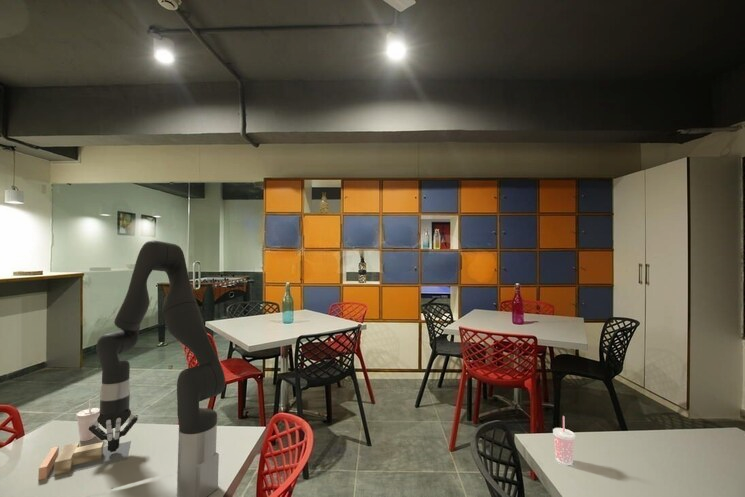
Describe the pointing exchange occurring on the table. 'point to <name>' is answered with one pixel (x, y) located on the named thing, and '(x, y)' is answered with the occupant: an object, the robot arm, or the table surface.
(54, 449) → the rail
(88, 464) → the mat
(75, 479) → the table surface
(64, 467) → the t block
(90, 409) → the smoothie
